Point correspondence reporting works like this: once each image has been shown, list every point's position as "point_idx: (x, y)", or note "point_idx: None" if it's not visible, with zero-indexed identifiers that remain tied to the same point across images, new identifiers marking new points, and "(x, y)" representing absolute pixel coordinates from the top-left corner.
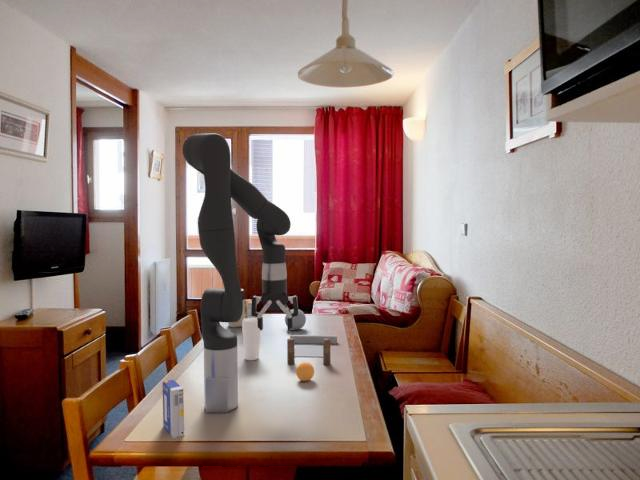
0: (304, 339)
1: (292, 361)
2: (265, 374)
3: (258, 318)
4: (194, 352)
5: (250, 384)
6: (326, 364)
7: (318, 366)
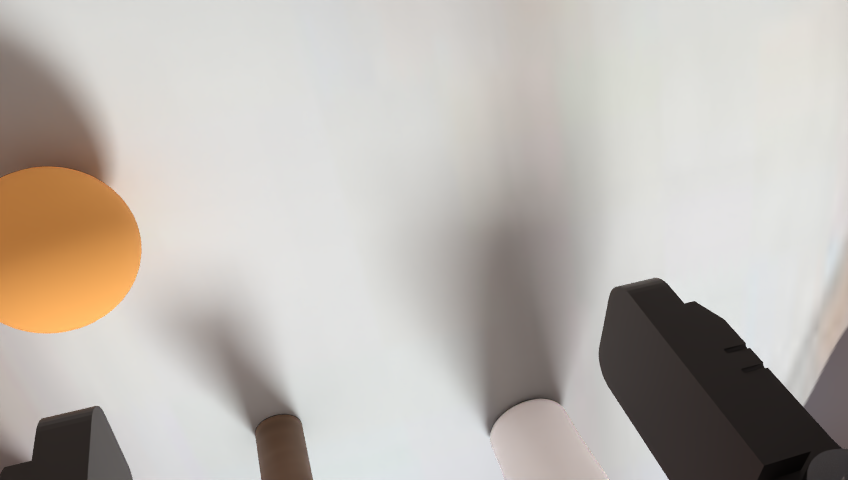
0: None
1: (266, 436)
2: (403, 245)
3: (824, 461)
4: None
5: (477, 55)
6: None
7: None
